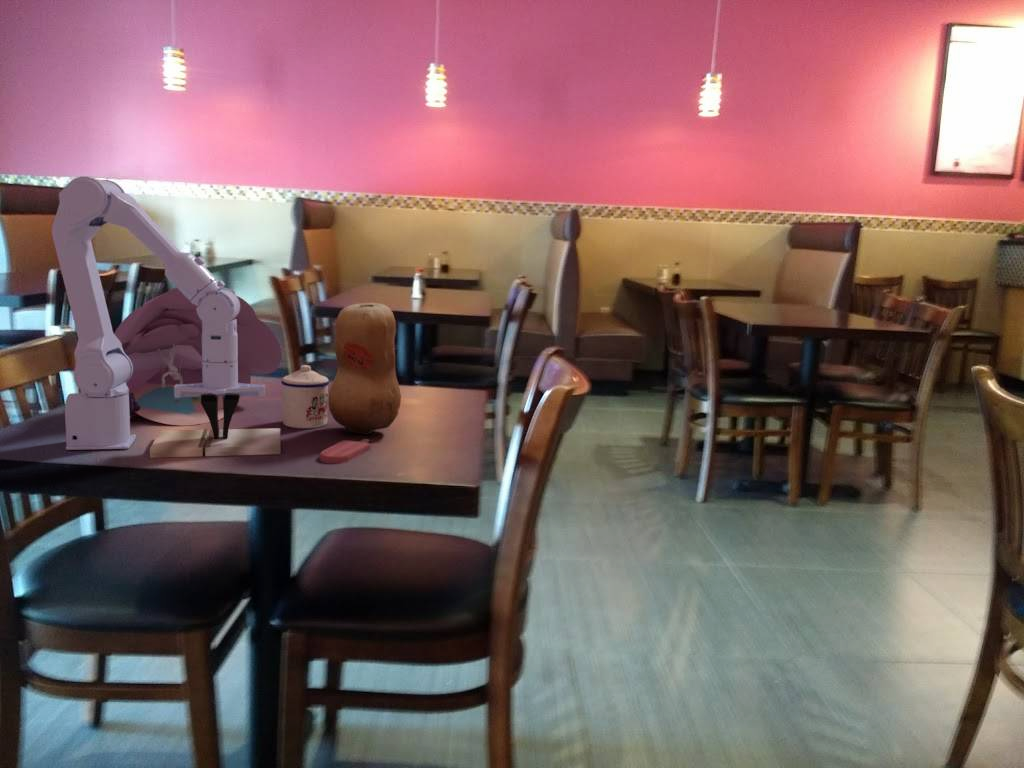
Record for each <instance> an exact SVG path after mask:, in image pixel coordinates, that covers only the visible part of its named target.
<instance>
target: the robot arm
mask: <svg viewBox="0 0 1024 768" xmlns="http://www.w3.org/2000/svg"><path fill="white" fill-rule="evenodd" d="M58 200H59V203H58V208H57V211H56V215H55V217H54V221H53V224H52V227H51V236H52V239H53V244H54V247H55V248H54V249H55V252H56V256H57V259H58V264H59V268H60V271H61V275H62V276H61V277H62V279H63V284H64V288H65V291H66V295H67V299H68V303H69V304H68V305H69V307H70V311H71V316H72V318H73V323H74V327H75V332H76V335H77V339H78V340H77V344H76V347H75V349H74V353H73V354H74V359H75V366H74V367H75V368H74V371H73V381H74V383H75V385H76V387H77V389H79V390H80V392H77V393H76V392H75V393H73V392H72V393H69V394H67V396H66V398H65V405H64V407H65V408H64V417H65V418H64V420H65V422H64V423H65V439H66V442H65V443H66V446H65V450H68V451H72V450H73V451H75V450H77V451H82V450H84V451H85V450H117V449H119V450H123V449H124V450H125V449H126V450H127V449H129V448H130V447H131V446H132V444H133V442H134V441H135V440H136V438H137V434H135V433H134V434H131V420H130V419H131V418H130V413H129V389H128V387H127V385H126V382H127V381H128V380H129V379H130V377H131V376H132V373H133V365H132V362H131V360H130V359H129V357H128V356H127V355H126V354H125V352H124V351H123V348H122V344H121V342H120V341H119V339H118V338H117V337H116V336H115V335H114V333H115V332H114V331H113V326H112V323H111V318H110V314H109V310H108V307H107V303H106V297H105V293H104V288H103V286H102V285H103V284H102V280H101V278H100V273H99V268H98V264H97V259H96V256H95V252H94V248H93V244H92V239H93V238H94V237H95V236H96V235H97V233H98V232H99V231H100V230H101V228H103V226H104V225H106V224H108V223H109V224H112V225H115V226H120V227H122V228H125V229H127V230H128V231H129V232H130V234H132V235H133V236H135V238H136V239H138V240H139V241H140V242H141V243H142V244H143V245H144V246H145V247H146V248H147V249H148V250H149V251H150V252H151V253H152V254H153V255H154V256H155V257H156V258H158V259H159V261H161V262H162V263H163V265H164V276H165V277H166V278H167V279H168V280H169V281H170V282H171V284H173V285H174V287H175V288H178V290H179V291H180V292H181V293H182V294H183V295H184V296H185V297H186V298H187V299H188V300H189V301H190V302H191V303H192V304H194V305H196V306H198V307H197V308H196V310H197V314H198V316H199V318H200V319H201V320H202V382H203V383H198V384H176V385H175V386H174V398H181V397H201V405H202V407H203V408H204V410H205V412H206V414H207V416H208V418H209V421H210V422H209V424H210V427H211V429H212V430H213V435H214V439H218V438H219V430H220V426H219V424H220V423H219V420H218V397H224V399H223V408H222V409H223V412H224V418H223V427H222V428H223V439H227V438H228V429H230V424H231V421H232V417H233V415H234V413H235V411H236V409H237V407H238V404H239V402H240V398H241V397H247V398H249V397H253V398H254V397H258V398H265V397H266V384H259V383H258V384H255V383H250V384H243V383H238V335H237V319H235V320H233V319H234V318H235V317H236V316H237V315H238V313H239V311H240V301H239V299H238V297H239V296H238V295H236V292H235V291H234V290H233V289H230V288H227V287H224V286H225V285H226V283H225V282H224V281H223V280H218V279H217V278H216V277H215V275H214V274H212V273H211V271H210V270H209V269H208V268H207V267H206V266H205V265H204V264H205V263H206V261H205V259H203V258H202V257H201V256H196V255H195V254H194V253H192V252H182V251H180V249H179V248H178V247H177V246H176V245H175V244H174V242H172V240H170V238H169V237H168V236H167V234H165V232H164V231H163V230H162V229H161V228H160V226H158V225H157V224H156V222H155V221H154V220H153V219H152V218H151V216H150V215H149V214H148V213H147V212H146V211H145V209H144V208H143V207H142V206H141V205H140V204H139V203H138V202H137V200H136V199H135V198H134V197H133V196H132V195H130V194H129V193H126V192H125V190H124V188H123V187H122V186H121V185H119V184H118V183H117V182H115V181H112V180H109V179H97V178H94V177H90V176H84V175H83V176H78V177H75V178H73V179H72V180H70V182H69V183H67V184H66V186H64V187H63V189H62V190H61V191H60V192H59V193H58ZM237 296H238V297H237ZM231 320H233V321H231ZM230 321H231V322H230Z"/></svg>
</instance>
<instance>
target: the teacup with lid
mask: <svg viewBox="0 0 1024 768" xmlns="http://www.w3.org/2000/svg"><path fill="white" fill-rule="evenodd" d="M299 368H300V369H299V370H296V371H294V372H292V373H291V374H289V375H285V376H284V377H282V378H281V385H282V424H283V425H284V426H286V427H289V428H294V429H316V428H320V427H324V426H326V425H327V423H328V410H329V384H330V381H329V378H328V377H327V376H324V375H321V374H319V373H318V372H316V371H314V370H312V367H311V366H310V365H309V364H308V365H307V364H304V365H301V366H299Z"/></svg>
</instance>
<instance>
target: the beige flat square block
mask: <svg viewBox="0 0 1024 768" xmlns="http://www.w3.org/2000/svg"><path fill="white" fill-rule="evenodd" d="M281 452H282V451H281V428H280V427H279V428H277V427H275V428H234V429H233V428H231V429H230V428H229V429H228V438H227V439H223V429H221V428H219V438H218V439H214V435H213V430H212V428H211V429H210V431H209V437H208V440H207V443H206V446H205V451H204V454H205V455H204V457H223V456H224V457H227V456H233V457H234V456H265V455H267V456H268V455H281Z"/></svg>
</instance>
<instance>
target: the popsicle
mask: <svg viewBox="0 0 1024 768" xmlns="http://www.w3.org/2000/svg"><path fill="white" fill-rule="evenodd" d="M369 442H370V439H368V438H364V439H363V438H362V440H360V441H355V440H347V439H343V440H341V441H339V442H337V443H335V444H333V445H331V446H330V447H327V448H326V449H324V450H322V451H321V452H320V453H319V461H320V460H321V462H323V463H326V464H343V463H345V462H348V461H351V460H354V459H355V458H357V457H359V456H361V455H363V454H364V453H367V452H368V451H370V450H371V444H370V443H369Z"/></svg>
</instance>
